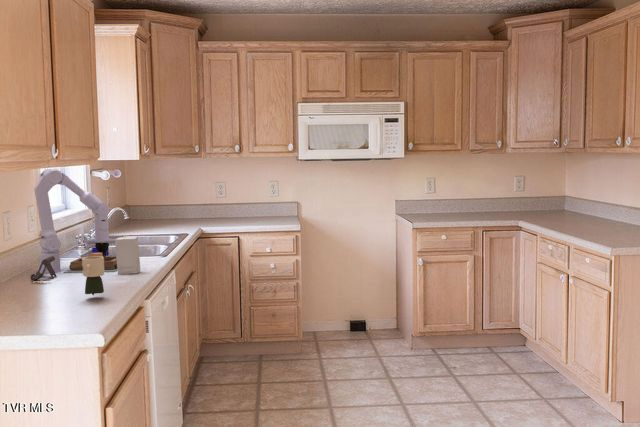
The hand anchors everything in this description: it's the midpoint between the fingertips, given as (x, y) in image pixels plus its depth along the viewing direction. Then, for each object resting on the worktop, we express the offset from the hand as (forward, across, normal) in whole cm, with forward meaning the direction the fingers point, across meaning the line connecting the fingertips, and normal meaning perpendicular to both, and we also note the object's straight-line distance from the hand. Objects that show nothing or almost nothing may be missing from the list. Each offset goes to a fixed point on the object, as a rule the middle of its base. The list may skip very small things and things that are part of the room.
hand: (103, 259), depth 275 cm
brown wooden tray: (+2, 0, +8) cm, 9 cm away
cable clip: (+3, +8, -21) cm, 22 cm away
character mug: (+3, -16, +63) cm, 65 cm away
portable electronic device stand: (+3, +14, +30) cm, 33 cm away
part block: (+1, 0, +8) cm, 9 cm away
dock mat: (+2, 0, +11) cm, 11 cm away
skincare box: (+3, -17, +22) cm, 28 cm away
